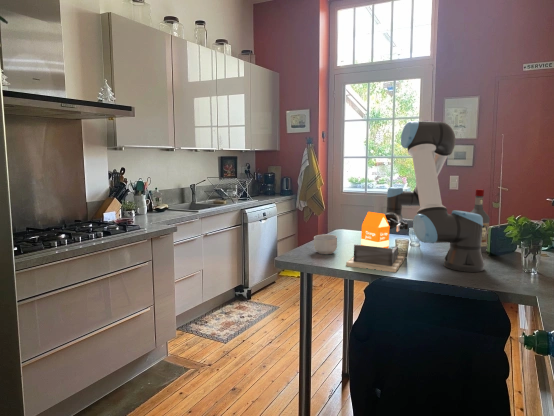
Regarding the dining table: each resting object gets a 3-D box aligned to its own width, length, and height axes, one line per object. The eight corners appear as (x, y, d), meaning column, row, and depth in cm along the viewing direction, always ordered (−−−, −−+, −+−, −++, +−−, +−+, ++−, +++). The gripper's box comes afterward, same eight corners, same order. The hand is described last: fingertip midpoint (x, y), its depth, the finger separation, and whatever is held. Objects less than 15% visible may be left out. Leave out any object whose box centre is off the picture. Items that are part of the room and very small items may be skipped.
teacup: (335, 256, 184) (336, 239, 183) (312, 255, 186) (312, 237, 185) (337, 249, 197) (338, 233, 196) (315, 248, 199) (315, 232, 198)
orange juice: (371, 255, 180) (373, 210, 177) (388, 259, 173) (390, 213, 170) (360, 258, 175) (361, 212, 172) (376, 262, 168) (378, 214, 165)
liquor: (460, 248, 204) (465, 188, 200) (476, 247, 206) (480, 188, 202) (474, 252, 195) (479, 190, 191) (489, 251, 197) (495, 190, 194)
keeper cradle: (395, 272, 159) (396, 251, 158) (346, 265, 168) (346, 245, 167) (404, 259, 179) (405, 241, 178) (359, 254, 188) (360, 236, 187)
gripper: (416, 230, 194) (410, 238, 175) (364, 226, 204) (353, 232, 185) (417, 215, 193) (411, 221, 174) (365, 211, 203) (354, 216, 184)
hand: (381, 227), depth 179 cm, fingers open, 13 cm apart
